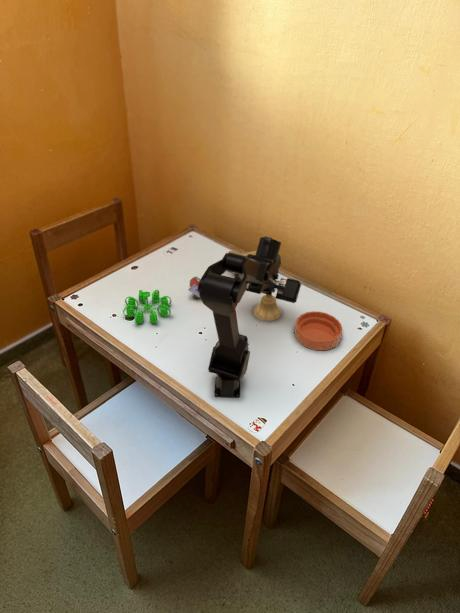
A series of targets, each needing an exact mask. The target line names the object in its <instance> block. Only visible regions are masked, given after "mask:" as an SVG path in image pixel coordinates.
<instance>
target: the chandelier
mask: <svg viewBox="0 0 460 613" xmlns="http://www.w3.org/2000/svg"><path fill="white" fill-rule="evenodd" d="M150 296H151V301H150V303H149V300H148V298H149V297H150ZM168 299H169V300H170V301H169V300H168ZM139 302H140V303H141V304H140V303H139ZM124 303H125V305H126V306H125V307H124V308H123V310H122V314H123V316H124V317H126V318H133V317H134V323H135V325H140V324H142V323H144V313H145V312H146V311H149V322H150V323H151V324H153V325H157V322H158V314H159V315H160V316H161V317H165V318H168V317H170V315H171V313H172V312H171V308H170V305H171V304H172V298H171V296H168V295H163V296H161V297H160V290H159V289H155V290H153V292H152V293H151V292H149V291H143V290H142V289H139V290H138V300H137V299H136V298H135V297H134V296H131V295H129V296H127V297H126V298H125V300H124ZM152 303H153V304H152ZM139 306H141V307H139ZM153 306H157V308H156V307H153ZM138 307H139V308H138ZM159 308H160V309H159ZM135 309H136V310H135ZM142 309H144V310H142ZM154 310H157V313H158V314H157V313H156V312H155V311H154ZM125 312H126V314H125Z"/></svg>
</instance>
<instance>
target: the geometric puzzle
mask: <svg viewBox="0 0 460 613" xmlns="http://www.w3.org/2000/svg"><path fill="white" fill-rule="evenodd" d="M200 279H201V277H199V276H193V277H192V278H191V279H190V280H189V287H188V289H187V290H188V291H189V292H190V294H193V295H191V297H192V299H196V298H197V299H198V298H200V294H199V292H198V285H199V282H200Z"/></svg>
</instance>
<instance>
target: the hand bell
mask: <svg viewBox="0 0 460 613" xmlns="http://www.w3.org/2000/svg"><path fill="white" fill-rule="evenodd" d="M253 313H254V316H255V317H256V318H257V319H259V320H261V321H265V322H273V321H276V320H278V319H279V318H280V317H281V315H282V311H281V309H280V307H279V306H278V305H277V299H276V296H274V295H273V293H272V294H271V295H267V294H264V295H263V296H262V297H261V298H260V301H259V304H257V305H256V306H255V307H254V309H253Z"/></svg>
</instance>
